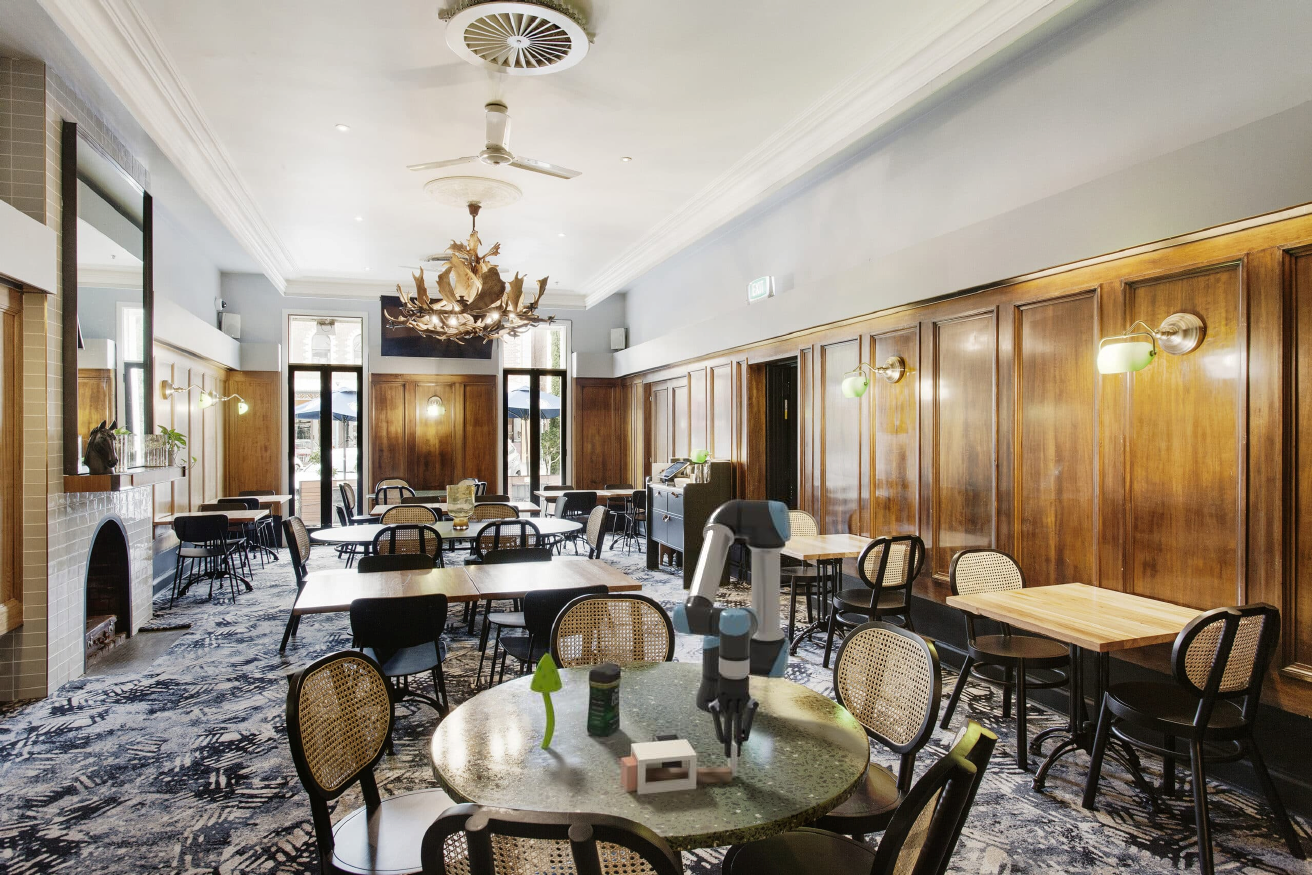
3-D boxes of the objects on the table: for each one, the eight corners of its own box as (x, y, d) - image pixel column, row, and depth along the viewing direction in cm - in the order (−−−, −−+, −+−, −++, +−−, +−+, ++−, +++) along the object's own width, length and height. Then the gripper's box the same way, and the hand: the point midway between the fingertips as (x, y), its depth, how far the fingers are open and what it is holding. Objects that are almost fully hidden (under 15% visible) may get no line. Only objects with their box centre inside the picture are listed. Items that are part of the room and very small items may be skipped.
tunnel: (679, 760, 182) (679, 729, 182) (696, 788, 167) (696, 754, 167) (625, 764, 179) (626, 733, 179) (638, 794, 164) (639, 759, 164)
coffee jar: (607, 740, 193) (608, 672, 193) (582, 734, 196) (583, 667, 196) (624, 727, 202) (625, 662, 202) (600, 722, 205) (601, 658, 205)
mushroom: (532, 739, 192) (534, 647, 192) (563, 740, 192) (565, 648, 192) (525, 753, 184) (527, 657, 184) (557, 754, 184) (559, 658, 184)
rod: (729, 776, 174) (730, 766, 174) (731, 781, 171) (732, 771, 171) (640, 778, 172) (640, 768, 172) (641, 783, 169) (641, 773, 169)
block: (638, 779, 171) (638, 755, 171) (644, 788, 167) (645, 763, 167) (620, 782, 169) (621, 757, 169) (626, 791, 165) (627, 766, 165)
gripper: (752, 667, 179) (751, 760, 179) (704, 670, 176) (702, 765, 176) (764, 677, 172) (762, 774, 172) (713, 680, 169) (711, 779, 169)
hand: (732, 769), depth 174 cm, fingers closed
